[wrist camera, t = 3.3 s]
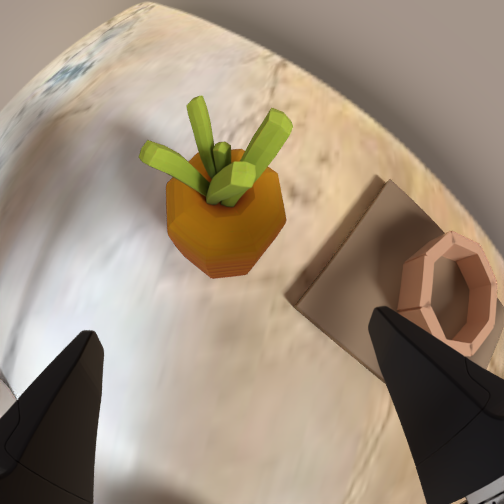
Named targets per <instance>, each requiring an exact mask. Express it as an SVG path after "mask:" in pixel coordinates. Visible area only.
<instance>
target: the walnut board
mask: <svg viewBox="0 0 504 504" xmlns="http://www.w3.org/2000/svg"><path fill="white" fill-rule="evenodd" d="M443 234H445V233H444V232H443V231H442V230H441V229H440V227H439V226H438V225H437V224H436V223H435V222H434V221H433V220H432V219H431V218H430V217H429V216H428V215H427V214H426V213H425V212H424V211H423V210H422V209H421V208H420V207H419V206H418V205H417V204H416V203H415V202H414V201H413V200H412V199H411V198H410V197H409V196H408V195H407V194H406V193H405V192H404V191H403V190H402V189H400V188H399V187H398V186H397V185H396V184H395V183H394V182H393V181H392V180H391V179H390V180H389V181H387V182H386V183H385V185H384V186H383V188H382V189H381V191H380V192H379V193H378V195H377V196H376V198H375V199H374V201H373V202H372V204H371V205H370V207H369V208H368V209H367V211H366V212H365V214H364V215H363V216H362V218H361V219H360V221H359V222H358V223H357V225H356V226H355V228H354V229H353V230H352V232H351V233H350V235H349V236H348V237H347V239H346V240H345V241H344V243H343V244H342V245H341V247H340V248H339V250H338V251H337V252H336V254H335V255H334V256H333V258H332V259H331V260H330V261H329V263H328V264H327V265H326V267H325V268H324V269H323V271H322V272H321V273H320V275H319V276H318V277H317V278H316V280H315V281H314V282H313V284H312V285H311V286H310V287H309V289H308V290H307V291H306V292H305V294H304V295H303V296H302V297H301V299H300V300H299V301H298V302H297V304H296V305H295V306H294V308H295V309H296V310H297V311H299V312H300V313H301V314H302V315H303V316H305V317H306V318H307V319H308V320H309V321H310V322H312V323H313V324H314V325H315V326H316V327H318V328H319V329H320V330H321V331H322V332H324V333H325V334H326V335H327V336H328V337H330V338H331V339H332V340H333V341H334V342H336V343H337V344H338V345H339V346H340V347H342V348H343V349H344V350H345V351H346V352H348V353H349V354H350V355H351V356H352V357H354V358H355V359H356V360H357V361H358V362H360V363H361V364H362V365H363V366H364V367H366V368H367V369H368V370H369V371H371V372H372V373H373V374H374V375H375V376H377V377H378V378H379V379H380V380H381V381H383V382H384V383H385V381H384V378H383V376H382V373H381V371H380V368H379V365H378V362H377V358H376V355H375V351H374V348H373V345H372V341H371V338H370V335H369V331H368V324H369V321H370V318H371V315H372V312H373V309H374V308H375V307H379V306H388V307H389V308H391V309H392V310H394V311H396V312H397V313H398V312H399V311H400V310H397V308H398V301H399V294H400V287H401V279H402V270H403V264H405V263H404V262H405V261H406V260H408V259H409V258H410V257H411V256H413V255H414V254H415V253H416V252H417V251H419V250H420V249H421V248H422V247H423V246H425V245H426V244H427V243H428V242H429V241H431V240H433V239H435V238H437V237H439V236H441V235H443ZM468 304H469V288H468V285H467V283H466V281H465V279H464V277H463V275H462V273H461V270H460V268H459V266H458V264H457V262H455V261H453V260H450V259H448V258H445V257H443V256H441V257H440V258H439V259H438V260H437V261H436V262H435V263H434V273H433V285H432V295H431V303H430V305H431V307H432V309H433V311H434V313H435V315H436V317H437V320H438V322H439V324H440V326H441V328H442V331H443V333H444V335H445V337H446V339H447V340H452V339H453V338H454V337H455V336H456V335H457V333H458V332H459V331H460V330H461V329H462V328H463V326H464V325H465V324H466V323H467V314H468ZM493 326H494V328H493V329H492V331H491V332H490V334H489V335H488V336H487V338H486V339H485V340H484V342H483V343H482V344H481V346H480V347H479V348H478V350H477V351H476V352H475V353H474V355H473V356H471V357H469V356H464V357H467V358H468V359H470V360H471V361H473V362H474V363H476V364H478V365H479V366H481V367H482V368H484V369H487V367H488V364H489V362H490V360H491V357H492V355H493V353H494V350H495V348H496V345H497V343H498V340H499V338H500V335H501V332H502V329H503V327H504V307H503V305H502V304H501V302H500V301H499V299H498V298H497V303H496V316H495V325H493ZM385 384H386V383H385Z"/></svg>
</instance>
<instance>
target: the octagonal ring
mask: <svg viewBox="0 0 504 504" xmlns="http://www.w3.org/2000/svg"><path fill="white" fill-rule="evenodd" d="M441 256H443V257H445V258H448V259H450V260H453V261H455V262H457V264H458V266H459V268H460V270H461V273H462V275H463V277H464V279H465V281H466V283H467V285H468V288H469V304H468V314H467V323H466V324H465V325H464V326H463V328H462V329H461V330H460V331H459V332H458V333H457V335H456V336H455V337H454V338H453V339H452V340H447V339H446V337H445V335H444V333H443V331H442V328H441V326H440V324H439V322H438V320H437V317H436V315H435V313H434V311H433V309H432V307H431V305H430V303H431V295H432V285H433V273H434V263H435V262H436V261H437V260H438V259H439V258H440V257H441ZM404 263H405V264H403V270H402V279H401V287H400V294H399V301H398V308H397V310H400V311H399V312H398V313H399V314H400V315H402V316H403V317H405V318H407V319H408V320H410V321H411V322H413V323H414V324H416V325H418V326H419V327H421V328H422V329H424V330H425V331H427V332H429V333H430V334H432V335H433V336H435V337H436V338H438V339H439V340H441V341H442V342H444V343H446V344H447V345H449V346H450V347H452V348H453V349H455V350H456V351H458V352H459V353H461V354H462V355H464V356H469V357H471V356H473V355H474V353H475V352H476V351H477V350H478V348H479V347H480V346H481V344H482V343H483V342H484V340H485V339H486V338H487V336H488V335H489V334H490V332H491V331H492V329H493V328H494V326H493V325H495V316H496V303H497V283H496V282H497V280H496V278H495V275H494V273H493V270H492V268H491V266H490V264H489V261H488V259H487V257H486V255H485V253H484V251H483V249H482V247H481V245H480V244H479V243H477V242H475V241H473V240H471V239H469V238H467V237H465V236H462V235H460V234H458V233H456V232H454V231H449V232H447V233H445V234H443V235H441V236H439V237H437V238H435V239H433V240H431V241H429V242H428V243H427V244H426V245H425V246H423V247H422V248H421V249H420V250H419V251H417V252H416V253H415V254H414V255H413V256H411V257H410V258H409V259H408V260H406V261H405V262H404Z"/></svg>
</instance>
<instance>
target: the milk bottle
mask: <svg viewBox="0 0 504 504" xmlns="http://www.w3.org/2000/svg"><path fill="white" fill-rule="evenodd" d="M15 401H16V399H15V397H14V395H13V394H12V392H11V390H10V389H9V388H8V386H7V385H6V384H5V383H4V382H3V381H2V380H1V379H0V418H1V417H2V416H3V415H4V414H5V413H6V412H7V410H8V409H9V408H10V407H11V406H12V405H13V404H14V403H15Z"/></svg>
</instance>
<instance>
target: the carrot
mask: <svg viewBox="0 0 504 504" xmlns="http://www.w3.org/2000/svg"><path fill="white" fill-rule="evenodd" d="M187 111H188V116H189V119H190V122H191V126H192V129H193V133H194V137H195V140H196V144H197V148H198V151H199V153H197V154H196V155H195V156H194V157H193V158H192V159H191V160H190V161H189V162H188V161H187V160H186V159H185V158H184V157H182V156H181V155H180V154H179V153H177V152H175V151H174V150H172V149H170V148H168V147H166V146H164V145H161V144H158V143H155V142H152V141H149V140H147V142H146V143H145V144H144V146H143V147H142V148H141V151H140V155H139V158H140V160H141V161H142V162H143V163H145V164H147V165H149V166H151V167H153V168H155V169H158V170H160V171H163V172H165V173H167V174H169V175H171V176H172V177H173V178H172V179H171V180H170V181H169V182H168V183H167V185H166V209H167V232H168V236H169V237H170V239H171V240H172V241H173V243H174V244H175V246H176V247H177V249H178V250H179V251H180V252H181V253H182V254H183V256H184V257H186V258H187V259H188V260H189V261H190V262H192V263H193V264H194V265H195V266H197V267H198V268H199V269H200V270H202V271H203V272H204V273H205V274H207V275H208V276H209V277H210V278H213V279H214V278H223V277H232V276H241V275H246V274H248V272H249V271H250V270H251V269H252V267H253V266H254V265H255V264H256V262H257V261H258V260H259V259H260V257H261V256H262V255H263V253H264V252H265V251H266V250H267V248H268V247H269V246H270V245H271V243H272V242H273V241H274V239H275V238H276V237H277V235H278V234H279V232H280V231H281V229H282V228H283V226H284V225H285V223H286V215H285V209H284V204H283V199H282V193H281V188H280V183H279V178H278V173H276V172H275V171H274V170H272V169H271V168H269V167H268V165H269V164H270V163H271V161H272V160H273V159H274V158H275V156H276V155H277V153H278V152H279V150H280V149H281V147H282V146H283V144H284V143H285V141H286V140H287V138H288V137H289V135H290V133H291V131H292V128H293V125H292V122H291V120H290V119H289V118H288V117H287V116H286V115H285V114H284V112H282V111H279V110H277V109H274V108H271V109H270V111H269V113H268V114H267V116H266V117H265V119H264V121H263V122H262V124H261V125H260V127H259V128H258V130H257V131H256V133H255V134H254V136H253V138H252V140H251V141H250V143H249V145H248V147H247V149H246V151H244V150H243V149H233V150H231V145H229V144H228V143H226V142H219V143H217V144H215V146H214V141H213V135H212V128H211V122H210V117H209V114H208V110H207V106H206V103H205V101H204V98H203V96H198V97H195V98H193V99H192V100H191V101H190V102H189V103H188V105H187Z"/></svg>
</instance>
